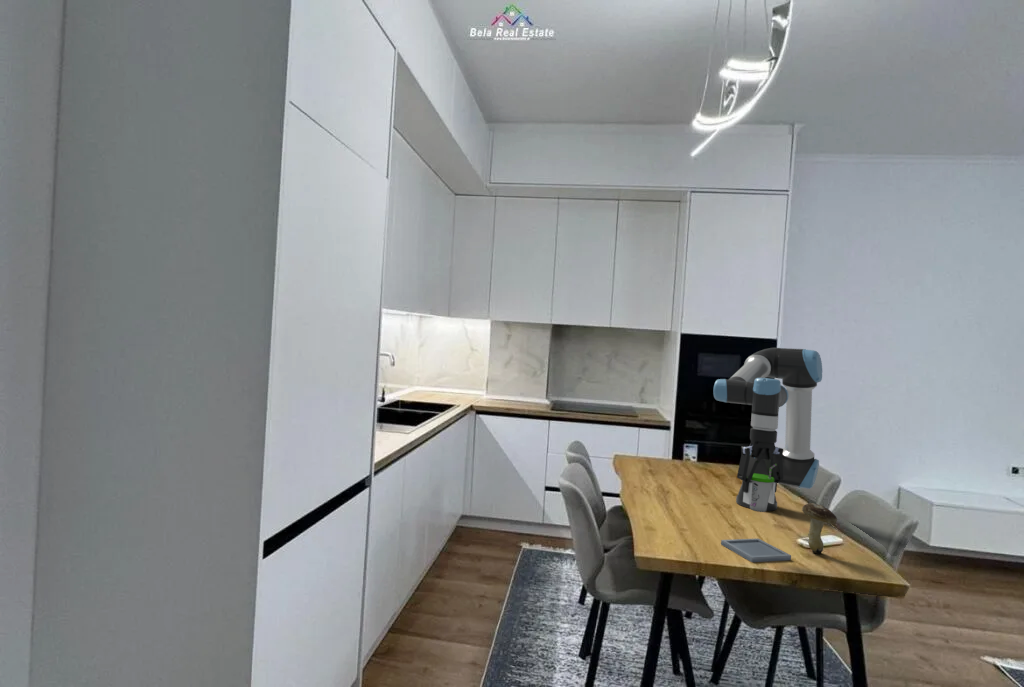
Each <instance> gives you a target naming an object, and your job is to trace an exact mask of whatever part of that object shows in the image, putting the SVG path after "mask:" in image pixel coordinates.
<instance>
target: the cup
mask: <svg viewBox="0 0 1024 687" xmlns="http://www.w3.org/2000/svg"><path fill="white" fill-rule="evenodd" d="M776 465H777V464H774V465H773V466H772V467H770V469H769V476H768V475H764V474H757V473H754V474H753V476H752V478H751V481H750V482H751V483H753V484H752V498H751V504H750V508H749V509H750V510H752V511H754V512H758V513H765V512H767V511H766V509H767V505H768V500H769V496H770V491H771V487H772V482H774V478H773V477H771V470H772V468H773V467H775V466H776Z"/></svg>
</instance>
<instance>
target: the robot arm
mask: <svg viewBox="0 0 1024 687" xmlns="http://www.w3.org/2000/svg"><path fill="white" fill-rule="evenodd" d="M822 362H823V361H822V359H821V355H820V353H819V352H818V351H816V350H813V349H806V348H782V347H770V348H764V349H762V350H759V351H756V352H754V353H753V354H751V355H749V356H748V357H747V358H746V359H745V361H744V362H743V363H744V364H743V365H742V366H741V367H740V368H739V369H738V370H737V371H736V372H735V373H734V374H733V375H732V376H730V378H728V379H726V378H720V379H719V378H718V379H716V380H715V382H714V385H713V393H712V394H713V398H714V399H715V400H716V401H719V402H723V403H730V404H737V405H738V404H739V405H740V404H741V405H748V406H751V419H750V420H751V421H750V426H751V428H750V430H749V431H750V432H749V440H750V444H749V446H744V445H743V446H741V447H740V451H741V452H740V453H741V456H740V460H739V465H738V469H737V475H736V478H737V479H739V480H740V481H742V482H741V485H740V488H739V490H738V494H737V495H736V497H735V498H736V500H735V503H736V504H737V505H740V506H741V507H744V508H747V509H750V504H751V498H752V484H753V483H751V482H750V481H751V478H752V476H753V474H754V473H757V474H764V475H768V476H769V469H770V467H772V466H773V465H774V464H777V465H776V466H775V467H773V468H772V470H771V477H773V478H774V482H772V487H771V491H770V496H769V500H768V505H767V509H766V512H767V511H770V512H771V511H776V510H777V509H778V501H777V497H776V492H777V486H778V484H780V485H785V486H791V487H795V488H798V489H800V488H801V489H808V490H809V489H812V488H813V487H814V485H815V483H816V479H817V474H818V472H819V467H820V459H817V458H815V453H814V451H812V450H811V439H812V438H811V436H812V434H811V433H812V407H813V406H812V405H813V404H812V403H813V402H812V400H813V390H814V389H815V388H817V386H818V383H821V382H822V380H823V363H822ZM779 379H781V380H782V382H781V381H780V380H779ZM785 404H786V405H785ZM783 406H785V407H786V408H785V438H784V439H785V440H784V441H785V444H784V447H783V448H782V447H778V446H776V443H777V441H778V431H777V430H778V429H779V410H780V408H781V407H783Z"/></svg>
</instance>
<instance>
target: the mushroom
mask: <svg viewBox="0 0 1024 687" xmlns="http://www.w3.org/2000/svg"><path fill="white" fill-rule="evenodd" d="M801 511H802V513H803V514H804V515H806V516H807V517H809V518H810V524H809V530H808V533H807V536H808V542H807V543H808V547H809V549H810V550H811V552H812V553H814V554H816V555H821V554H822V552H823V550H824V542H823V539H822V538H821V537H822V536H821V534H822V530H823V529H824V525H825V523H826V524H829V525H835V524H837V522H838V521H837V520H838V519H837V518H838V517H837V516H836V515H835V514H834V513H833V512H832V511H831V510H830V509H828V508H827V507H825V506H824V505H821V504H819V503H818V504H817V503H812V502H809V503H806V504H804V505H803V506H802V510H801Z"/></svg>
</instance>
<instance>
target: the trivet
mask: <svg viewBox="0 0 1024 687" xmlns="http://www.w3.org/2000/svg"><path fill="white" fill-rule="evenodd" d="M720 541H721V542H720V545H721V546H723V547H725V548H726V549H728V550H730V551H732V552H733V553H735V554H737V555H738V556H740V557H742V558H744V559H745V560H747V561H749V562H750V563H758V562H759V563H760V562H761V563H762V562H778V561H779V562H780V561H791V560H792V555H791V554H789V553H788V552H785V551H783V550H781V549H780V548H778V547H776V546H774V545H772V544H770V543H768V542H766V541H764V540H762V539H760V538H741V539H739V538H737V539H735V538H734V539H733V538H732V539H721V540H720Z"/></svg>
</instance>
